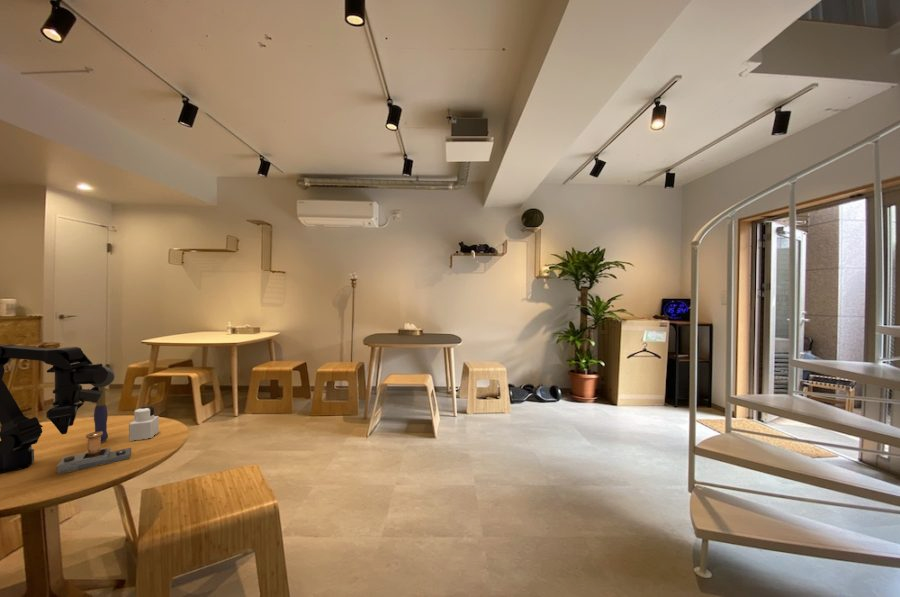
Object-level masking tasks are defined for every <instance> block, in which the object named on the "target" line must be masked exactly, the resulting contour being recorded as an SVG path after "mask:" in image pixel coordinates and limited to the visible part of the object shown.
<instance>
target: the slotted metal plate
mask: <svg viewBox="0 0 900 597" xmlns="http://www.w3.org/2000/svg"><path fill="white" fill-rule="evenodd" d="M131 453H132V447H126V448H122V449H118V450H113V451H111V447H107V448H101V455H100V456H95V457H90V458H88V451H87V452H81V453H77V454H72V455H66V456H63V457H62V458H61V459H60V461H59V462H58V464H57V475H62V474H65V473H69V472H75V471H79V470H80V471H81V470H83V469H84V468H85V469H89V468H93V466H94V467H97V466H96V465H98V466H102V465H101V464H103V465H106V463H107V464H111V463H116V462H120V461H125V460H129V459H130V458H131V455H130V454H131Z"/></svg>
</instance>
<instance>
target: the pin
mask: <svg viewBox="0 0 900 597" xmlns="http://www.w3.org/2000/svg"><path fill="white" fill-rule="evenodd" d="M101 435H103V432H102V431H98V432H95V431H93V432H90V433H87V434H86V435H85V438H86V439H87V447H88V448H87V452H88V458H90V457H95V456H100V455H101V449H102V448H101V447H102V446H101V443H102V442H101Z"/></svg>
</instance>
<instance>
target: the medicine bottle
mask: <svg viewBox="0 0 900 597" xmlns="http://www.w3.org/2000/svg"><path fill="white" fill-rule="evenodd" d="M133 415H134V419H133V421H131V422H130V423H128V440H129V442H133V441H134V440H136V441H143V440H142V439H145V440H149V439H148V438H151V439H153V438H154V437H155V436H156V435H157V434H159V432H160V430H159V429H160V427H159V426H160V424H159V423H160V421H159V420H160V417H159V415H155V408H154V406H150V405H149V406H142V407H139V408H136V409H135V410H134V411H133ZM155 434H156V435H155ZM154 435H155V436H154Z"/></svg>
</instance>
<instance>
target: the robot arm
mask: <svg viewBox="0 0 900 597" xmlns="http://www.w3.org/2000/svg"><path fill="white" fill-rule="evenodd" d="M11 359H15V360H29V361H38V362H42V363H45V364H46V365H49V366H51V367H50V368H49V369H47V370H46V373H54V389H53V390H52V394H54V401H53V402H52V406H51V407H50V408H49V409H48V410H46V414H45V416H46V419H48V420H50V421H51V423H52V424H53V426H55V427H56V429H57V430H58V432H59V433H60V434H61V435H67V433H68V430H69V427H72V426H73V425H74V423H75V420H76V416H77V414H78V413H77V412H78V410H79V409H80V408H81V407H83V405H84V404H85V402H89V403H92V404H93V403H94V404H96V403H98V402H99V400H100V398H101V396H102V394H103V391H100V387H96V386H93V387H91V388H87V389H85V388H83V385H91V384H101V383H103V382H104V381H105V380H106V379H107V376H108V372H107V370H106V369H105V368H104V367H102V366H103V363H95V364H93V362H92V361H91V360H90V359H89V357H88V356H87V355H86V354H85V353H84V351H83V350H82V348H81V347H78V346H69V347H67V346H66V347H57V348H56V347H55V348H48V347H37V346H26V345H25V346H24V345H15V344H2V345H0V425H1V426H0V474H3V473H6V472H12V471H18V470H22V469H23V470H24V469H26V468H29V467H30V465H31V464H32V463H34V461H35V449H34V448H32V446H33V445H36V444H38V441H39V439H40V437H41V435H42V433H43V426H44V425H42V424H41V423H40V421H39V419H38V417H35V416H34V417H32V418H30V417H28V416H25V415H24V413H23V412H22V410H21V409H20V407H19V405H18V403H17V402H16V400H15V398H14V397H13V395H12V393H11V392H10V390H9V388H8V386H7V385H6V383H5V382H4V379H3V378H4V376H5V372H6V370H5V367H4V366H5V365H6V364H8V363H9V362H11Z"/></svg>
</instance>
